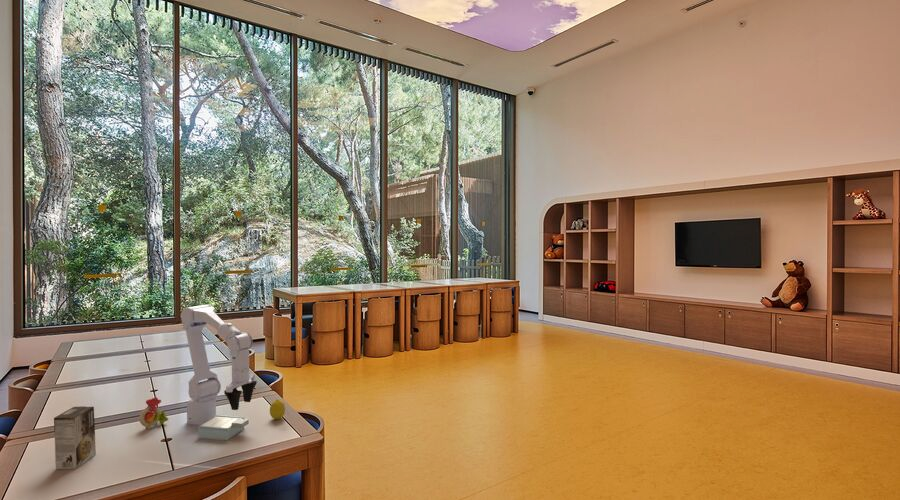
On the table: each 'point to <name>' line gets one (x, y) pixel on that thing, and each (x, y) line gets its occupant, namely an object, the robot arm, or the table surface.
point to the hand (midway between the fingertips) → (241, 405)
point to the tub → (218, 431)
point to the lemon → (277, 409)
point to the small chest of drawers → (227, 422)
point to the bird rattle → (152, 414)
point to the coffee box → (74, 437)
